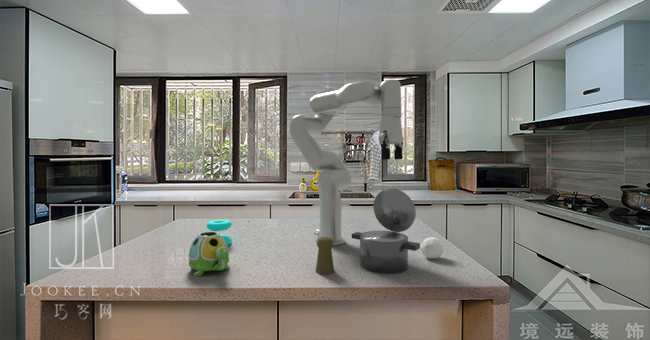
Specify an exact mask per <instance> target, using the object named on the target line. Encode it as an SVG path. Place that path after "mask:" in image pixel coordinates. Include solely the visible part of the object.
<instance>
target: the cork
mask: <svg viewBox="0 0 650 340" xmlns="http://www.w3.org/2000/svg"><path fill="white" fill-rule="evenodd" d="M316 246H317V248H318V251H317V258H316V267H315V272H316V274H319V275H322V276H323V275H324V276H325V275H332V274H334V272H335V267H334V266H335V265H334V259H333V251H332V247H333V240H332V239H331V238H330V237H320V238H319V239H318V240H317V242H316Z"/></svg>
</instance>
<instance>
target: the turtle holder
mask: <svg viewBox="0 0 650 340" xmlns="http://www.w3.org/2000/svg"><path fill="white" fill-rule="evenodd" d="M220 235H221V234H220V233H219V231H211V230H209V231H204V232H199V233H198V234H197V236H195V238H194V239H193V240H192V242H191V244H190V247H189V249H188V250H189V251H188V255H187V256H188V257H187V258H188V266H189V268H190V269H191V268H192V269H191V270H193V269H194V270H195V272H194V273H193V276H195V277H201V275H202V276H203V274H204V273H205V272H209V271H210V272H211V271H223V270H224V271H225V270H226V269H227V270H230V268H231V265H229V261H230V255H229V254H230V253H229V252H230V250H229V245H227V243H226V241H225V240H224V238H223V237H222V236H220ZM227 270H226V271H227Z"/></svg>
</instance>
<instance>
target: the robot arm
mask: <svg viewBox="0 0 650 340" xmlns="http://www.w3.org/2000/svg"><path fill="white" fill-rule="evenodd" d="M401 85H402V84H401V82H400V81H399V80H397V79H386V80H384V81H382V82H381V84H376V83H373V82H372V81H368V80H361V81H360V80H359V81H356V82H351V83H347V84H345V85H343V86H342V87H341V88H340V89H336V90H332V91H328V92H323V93H319V94H316V95H314V96H312V97H311V98H310V99H309V103H308V104H309V105H308V106H309V108H310V110H311V111H312V112H313V113H315V115H308V114H305V113H304V114H303V113H302V114H301V113H300V114H296V115H294V116H293V117H292V119H291V120H290V123H289V134H290V137H291V140H292V142H293V143H294V144H295V146H296V147H297V148H298V150H299V152H300V153H301V155H302V156H303V158H304V160H305V161H306V162H307V165H308V166H309V167H310V169H311V170H312V171H314V172H315V173H316V172H319V174H318V177H317V180H316V183H317V190H318V199H319V201H318V202H319V229H316V230H315V231H313V235H314V236H317V238H316V239H315V242H316V243H317V240H318V239H319V238H320V237H330V238H331V239H332V240H333V246H334V247H335V246H340V245H343V244H344V243H346V239H345V238H344V237H342V198H341V194H340V191H344V190H348V188H350V185H351V184H352V177H351V173H350V172H349V170H348V168H346V167H347V166H345V164H344V163H343V161H342V160H341V158H340V157H339V155H337V154H336V153H335V152H333V151H330V150H324V149H322V148H321V147H320V145H319V143H318V142H317V141H316V140H315V138H314V137H313V136H312V135H319V134H321V133H323V132H324V131H325V129H326V128H327V126H328V125H329V124H330V122H331V121H332V120H333V119H334V117H335V116H336V113H338V112H339V111H344V110H346V109H347V107H348V104H353V103H359V102H364V103H368V104H370V105H376V106H377V105H379V104H380V120H379V133H378V140H379V145H380V150H381V160H383V161H384V160H390V159H391V148H389V147H390V145H393V147H394V150H393V152H394V153H393V156H394V160H403V148H404V147H403V145H404V139H405V138H404V137H403V125H402V119H401V118H402V92H401V90H402V86H401ZM333 246H332V247H333Z"/></svg>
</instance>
